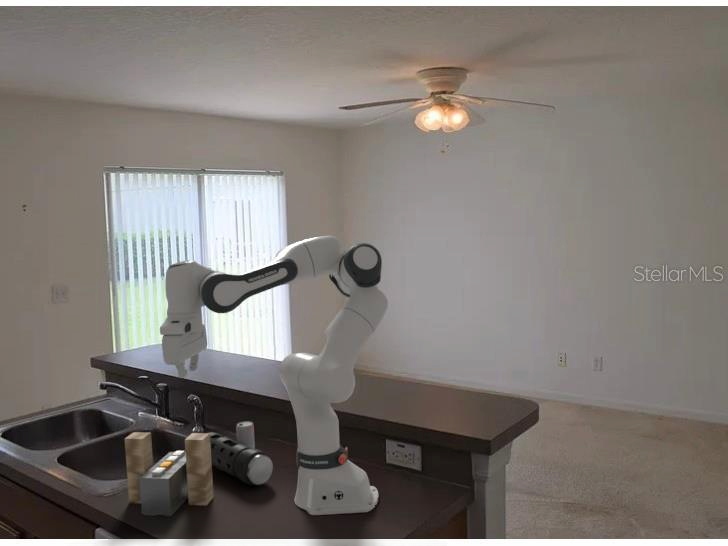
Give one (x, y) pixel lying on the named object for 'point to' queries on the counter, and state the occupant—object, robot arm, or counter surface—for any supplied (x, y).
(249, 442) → the energy drink
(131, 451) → the oak post
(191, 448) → the oak post
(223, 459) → the muzzle brake
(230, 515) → the counter surface
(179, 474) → the button box
